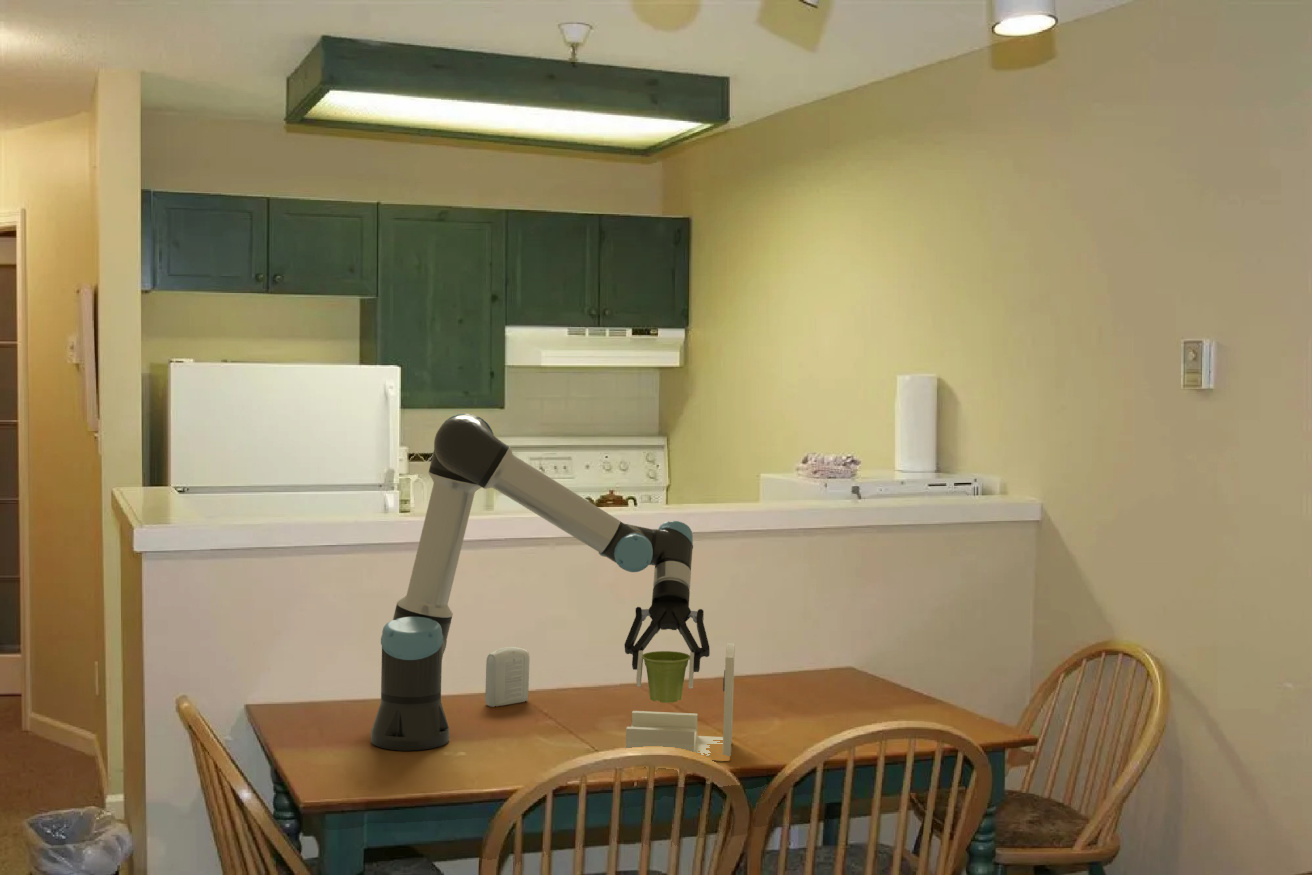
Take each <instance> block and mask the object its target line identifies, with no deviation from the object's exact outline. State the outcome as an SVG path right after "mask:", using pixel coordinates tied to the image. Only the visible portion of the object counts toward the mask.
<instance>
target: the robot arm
mask: <svg viewBox="0 0 1312 875" xmlns="http://www.w3.org/2000/svg"><path fill="white" fill-rule="evenodd" d="M437 430H438V431H437V432H436V434H435V437H434V441H433V442H434V443H433V452H432V456H431V461H430V464H429V469H428V475H429V477H430V478H431V480H432V482H433V485H432V489H431V492H430V496H429V501H428V506H427V508H426V514H425V518H424V521H423V526H422V530H421V533H420V538H419V542H418V546H417V551H416V554H415V559H414V563H413V567H412V570H411V575H410V579H409V584H408V588H407V592H406V595H405V596H404V597H402V598H401V599H399V600H398V601H397V602H396V606H395V609H394V614H393V617H392V620H389V621H388V622H386V624H385V625H384V626H383V629H382V632H381V633H382V634H381V637H380V645H381V668H380V670H381V672H380V673H381V675H380V676H381V677H380V678H381V679H380V681H381V682H380V704H379V707H378V710H377V712H376V715H375V719H374V721H373V724H372V727H371V731H370V733H371V734H370V742H371V744H372V745H373V746H375V747H378V748H382V749H385V750H392V751H403V752H404V751H405V752H407V751H409V752H410V751H422V750H430V749H434V748H439V747H442V746H444V745H446V744H448V743H449V741H450V728H449V727H450V725H449V724H448V720H447V716H446V714H445V711H444V710H445V709H444V706H443V703H442V673H443V672H442V669H443V668H442V667H443V666H442V664H443V657H444V654H445V651H446V648H447V642H448V641H447V640H448V635H449V632H450V627H451V624H452V618H453V612H452V610H451V608H450V606H449V601H450V596H451V592H452V588H453V583H454V580H455V576H456V572H457V568H458V564H459V559H460V554H461V550H462V546H463V543H464V539H465V534H466V530H467V526H468V521H469V517H470V514H471V510H472V505H473V501H474V497H475V493H476V492H477V491H478V490H480V489H482V488H483V489H484V490H485V489H486V490H487V489H492V488H493V489H495V490H496V491H498V492H499V493H501V494H503V496H505V497H507V498H509V499H511V500H512V501H513V502H516V503H518V504H519V505H520V506H522V507H524V508H526V509H527V510H529V511H531V512H532V513H534V514H536V515H537V516H539V517H540V518H542V519H544V520H545V521H547V522H548V523H550V524H552V525H554V526H555V527H556V528H558V529H560V530H562V531H564V532H565V533H567V534H569V536H572V537H573V538H575V539H576V540H578V541H580V542H582V543H583V544H584V545H587V546H588V547H590V548H591V549H593V550H595V551H596V552H598V554H599V555H600V556H601V557H605V558H607V559H609V560H611V561H612V562H614V563H615V564H616V565H617V566H618V567H619V568H621V569H622V570H624V571H625V572H630V573H638V572H641V571H643V570H645V569H646V568H648V567H649V566H654V573H653V583H652V586H653V588H652V595H651V596H652V597H651V605H650V606H649V607H648V608H645V609H643V608H642V607H640V606H637V607H636V608H635V617H634V619H633V623H632V625H631V627H630V630H629V632H628V635H627V637H626V640H625V642H624V645H623V646H624V652H625V654H626V655H629V654H630V655H632V658H631V666H632V670H634V671H636V677H635V679H636V680H635V682H636V687H640V688H641V686H642V676H643V666H644V659H643V658H642V655H643V654H644V653H643V652H644V650H645V649H646V648H647V646H648V645H649V644H650V643H651V641H652V640H653V638H654V637H655V635H656V634H658V633H659V631H660V630H661V631H663V630H664V631H667V630H671V631H677V630H678V632H679V634H680V635H681V636H682V638H683V640H684V642H685V643H686V645H687V647H688V649H689V651H690V654H689V655H690V659H689V666H688V669H689V670H688V690H689V689H692V690H693V689H694V674H695V673H700V670H701V669H700V668H701V659H702V658H704V657H705V658H708V657H710V654H711V653H710V644H709V640H708V636H707V631H706V629H705V628H706V627H705V625H704V618H705V617H704V616H705V615H704V614H705V613H704V609H703V608H698V609H697V611H696V610H691V609H690V595H691V592H690V589H691V578H692V576H691V575H692V562H693V561H692V559H693V549H694V544H693V542H694V540H693V531H692V529H691V528H690V526H689V525H688V524H686V523H684V522H683V521H679V520H673V521H665V522H663V523H662V524H660V526H659V527H658V529H656V528H647V527H643V526H637V525H633V524H629V523H624V522H622V521H621V520H620V519H617V518H616V517H614V516H613V515H611V514H610V513H608V512H606V511H605V510H603V509H601V508H600V507H598V506H597V505H595V504H594V503H592V502H590V501H588V500H587V499H585V498H583V497H582V496H580V495H579V494H577V493H575V492H574V491H572V490H571V489H569V488H568V487H566V486H565V485H562V484H561V483H559V482H558V481H556V480H555V479H553V478H551V477H550V476H548V475H546V474H545V473H543V472H541V471H539V469H538V468H535V467H533V466H532V465H531V464H528V463H527V462H525V461H523V459H521V458H519V457H517V456H516V455H514V454H513V451H512V450H513V449H512V447H511V446H509V445H507V444H506V443H504V442H503V441H502V440H499V438H498V437H497V436H495V435H494V431H493V429H492V427H491V426H490V425H489V424H488V422H487V421H485V420H484V419H483V418H481V417H480V416H477V415H475V414H473V413H457V414H456V415H453V416H451V417H449V418H447V419H446V420H445V421H444V422H443V423H442V424H441V426H440V427H439V429H437ZM647 617H650V619H651V622H650V623H649V625H648V626H647V628H646V629H645V631H644V632H643V633H642V635H641V636H640V637H639V639H638V640H637V638H638V635H639V633H640V630H641V628H642V625H643V622H645V620H646V619H647ZM690 618H692V620H693V622H694V623H695V624H696V629H697V634H698V638H699V642H700V646H701V647H700V646H699V645H698V643H697V641H696V639H695V637H694V636H693V633H691V631H690V629H689V627H688V625H687V623H686V622H687V621H688V620H689V619H690ZM636 640H637V642H636Z"/></svg>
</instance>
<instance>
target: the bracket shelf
mask: <svg viewBox="0 0 1312 875" xmlns="http://www.w3.org/2000/svg"><path fill="white" fill-rule="evenodd" d="M735 645H736V643H735V642H734V643H733V642H727V643H726V649H725V650H726V652H725V659H724V660H725V662H724V663H725V665H724V669H723V671H724V672H723V679H722V692H723V693H724V696H723V697H724V699H723V700H724V701H723V728H722V729H723V731H722V732H723V733H722V736H708V735H707V736H706V735H705V736H704V735H698V713H691V712H689V713H687V712H671V711H670V712H667V711H666V712H665V711H649V710H648V711H646V710H645V711H644V710H632V713H631V726H626V729H625V749H626V748H632V747H643V746H663V747H675V748H681V749H686V750H689V751H692V752H696V753H701V755H704V754H703V753H705V754H707V755H706V756H708V757H709V755H710V754H708V753H711V752H710V751H709V750H706V748H710V747H709V746H710V745H707V744H723V755H727V756H731V757H732V747H731V744H733V719H734V718H733V716H734V715H733V713H734V712H733V711H734V684H735V682H734V681H735V652H736V651H735V650H736V649H735ZM713 740H723V743H717V742H720V741H713ZM698 751H700V752H698Z"/></svg>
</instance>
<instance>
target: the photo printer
mask: <svg viewBox="0 0 1312 875" xmlns="http://www.w3.org/2000/svg"><path fill="white" fill-rule="evenodd" d="M485 662H486V664H485V666H486V667H485V668H486V669H485V690H484V691H485V692H484V693H485V694H484V695H485V697H484V698H485V704H486V706H488V707H492V708H496V707H499V706H500V707H501V706H506V705H507V706H508V705H512V704H519V703H525V701H526V702H528V701H529V686H530V685H529V684H530V682H529V681H530V654H529V652H528V650H527V649H525V648H522V647H517V646H506V647H500V648H498V649H496V650H494V651H491V652H490V653H489V654H488V655H487V657H486V661H485ZM495 706H496V707H495Z"/></svg>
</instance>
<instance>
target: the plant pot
mask: <svg viewBox="0 0 1312 875" xmlns="http://www.w3.org/2000/svg"><path fill="white" fill-rule="evenodd" d="M642 658H643V663H644V665H645V668H646V675H647V682H648V691H649V692H648V693H649V699H650V700H651V701H652V702H660V703H663V704H667V703H668V704H669V703H671V704H673V703H676V702H678V701H681V700H682V696H683V691H684V690H683V689H684V681H685V676H686V670H687V666H688V665H689V664H688V663H689V661H690V654H688V653H684V652H682V651H681V652H680V651H671V650H658V651H649V652H646V653H643V655H642Z"/></svg>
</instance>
